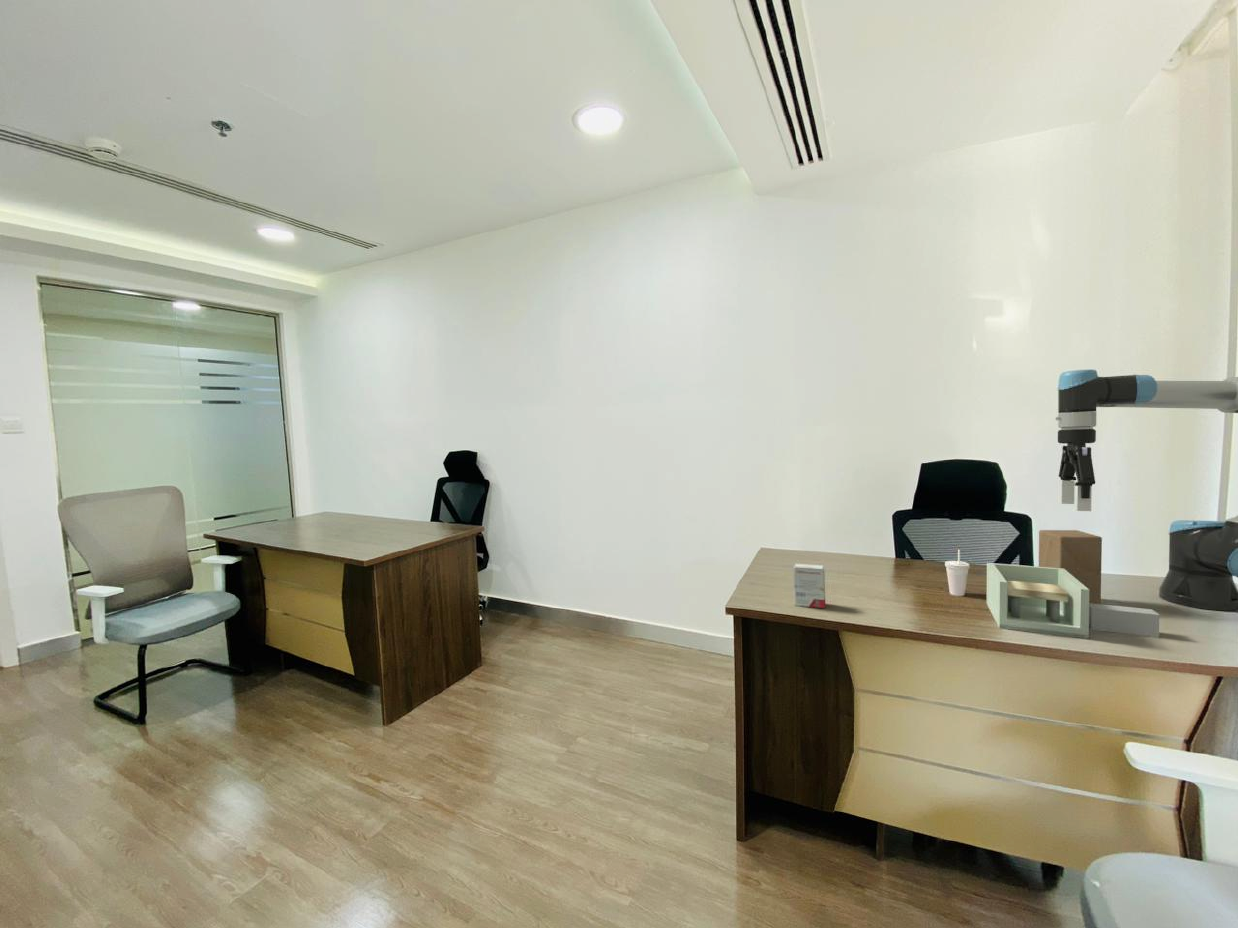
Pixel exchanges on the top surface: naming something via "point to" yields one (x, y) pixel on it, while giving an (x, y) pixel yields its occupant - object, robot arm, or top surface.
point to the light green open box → (1038, 601)
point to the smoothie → (957, 576)
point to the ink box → (809, 585)
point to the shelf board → (1036, 591)
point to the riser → (1124, 620)
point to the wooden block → (1074, 557)
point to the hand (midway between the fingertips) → (1075, 507)
